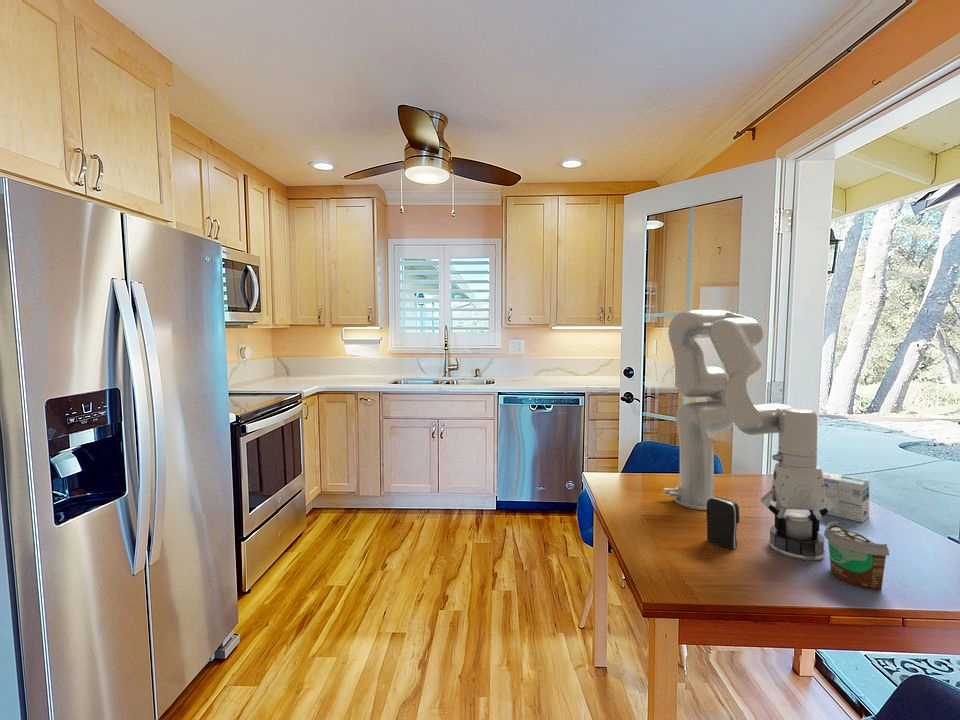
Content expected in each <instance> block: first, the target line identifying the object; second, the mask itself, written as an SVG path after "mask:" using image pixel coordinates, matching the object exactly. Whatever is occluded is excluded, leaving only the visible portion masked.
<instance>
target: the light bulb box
mask: <svg viewBox="0 0 960 720" xmlns="http://www.w3.org/2000/svg"><path fill="white" fill-rule="evenodd" d="M822 474H823V479H824V486H825V496H827V497H828V498H829V499H830V500H831V501H832V502H833V503H834V504H835V506H834V507H833V508H832V509H830V510H829V511H828V513H826V514H825V515H830V516H834V517H839V518H843V519H847V520H851V521H855V522H859V523H864V522H865V521H866V520H867V519H869V517H870V480H869V479H865V478H859V477H853V476H850V475H849V476H848V475H843V474H836V473H831V472H827V471H826V472H822Z"/></svg>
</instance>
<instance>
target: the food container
mask: <svg viewBox="0 0 960 720" xmlns="http://www.w3.org/2000/svg"><path fill="white" fill-rule="evenodd" d="M838 524H839V522H838V521H831V522H828V524H827V526H825V530H824V533H823V535H824V536H823V537H824V539H826V540H827V541H828V551H829V564H830V572H831V575H832V576H833V577H834V578H835V579H837V580H838V581H841V582H842V583H845V584H846V585H849V586H852V587H855V588H859V589H863V590H869V591H882V587H883V581H884V580H883V579H884V575H885V574H884V573H885V565H886V558H887V556H890V551H889V547H888V544H887V543H885V544H884V543H883V544H882V543H876V542H873V541H871V540H870V539H868V538H866V537H865V536H863V535H861V534H859V533H858V532H853V531H850V530H848V529H846V528H844V527H841V526H839V525H838Z"/></svg>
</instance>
